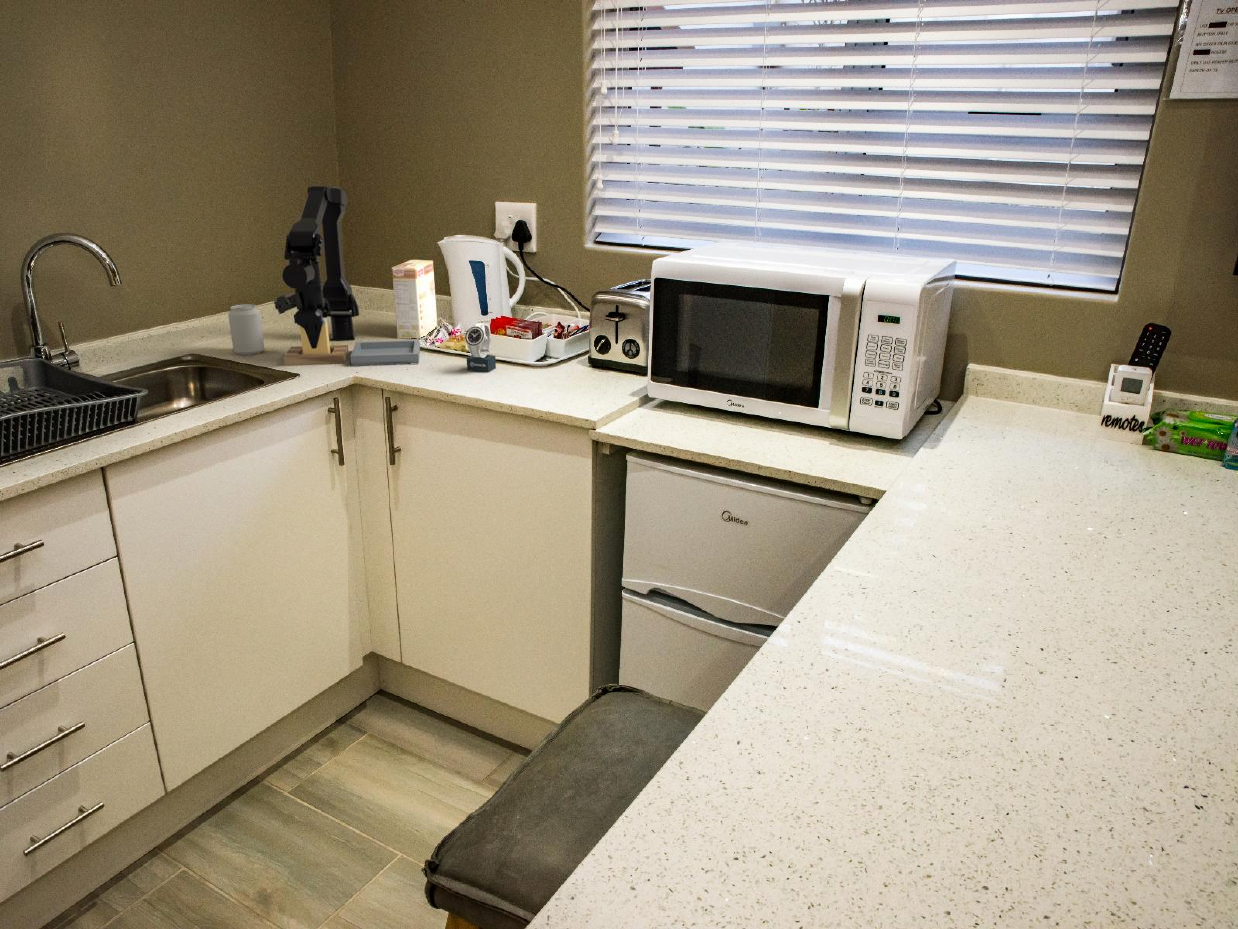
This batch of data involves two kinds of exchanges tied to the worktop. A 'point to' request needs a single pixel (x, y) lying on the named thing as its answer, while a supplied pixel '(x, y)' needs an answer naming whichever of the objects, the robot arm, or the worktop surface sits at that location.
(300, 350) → the brown wooden frame
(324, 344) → the tan rectangular block
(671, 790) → the worktop surface
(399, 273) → the coffeecake box
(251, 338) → the can
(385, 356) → the parts tray
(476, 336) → the watch
